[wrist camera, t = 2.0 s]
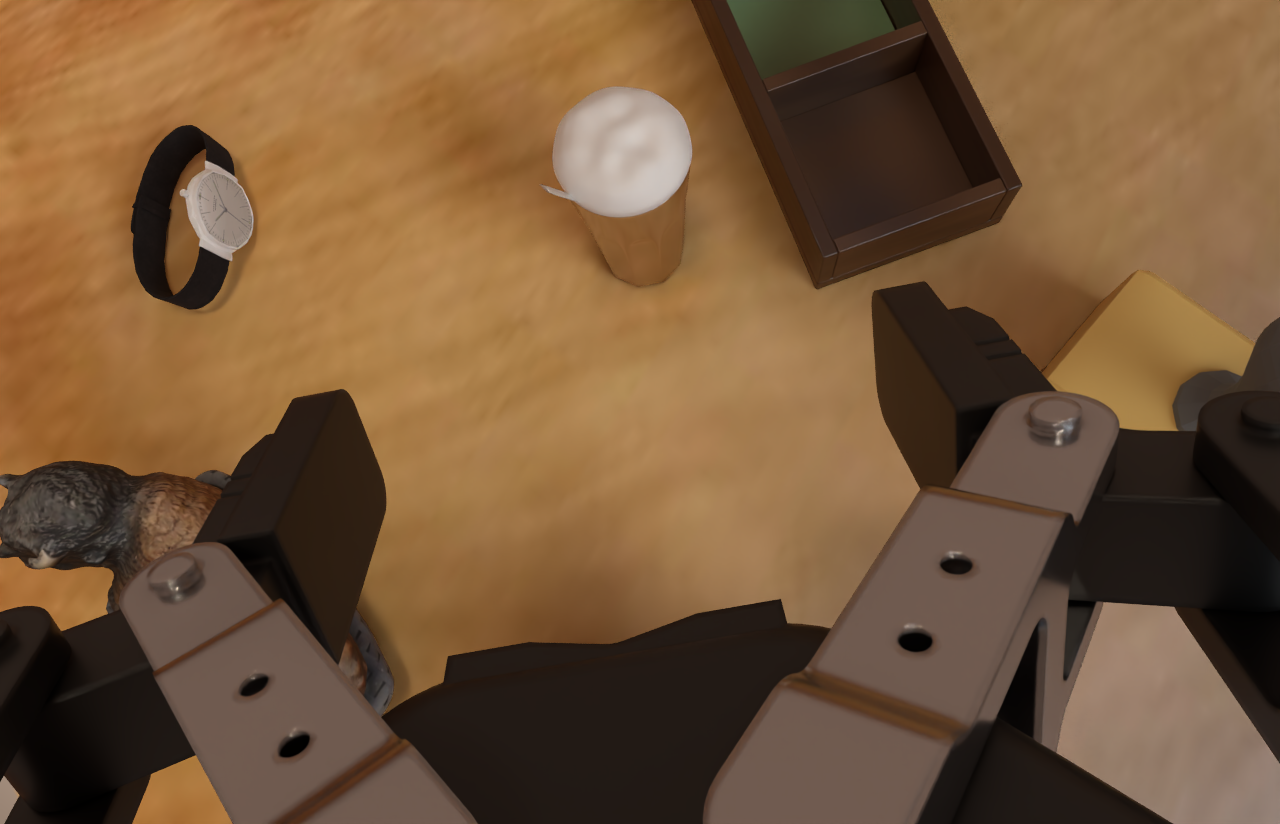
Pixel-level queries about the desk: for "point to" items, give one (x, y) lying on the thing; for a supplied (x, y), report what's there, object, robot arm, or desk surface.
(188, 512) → the brown animal figure
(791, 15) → the tray
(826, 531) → the desk surface
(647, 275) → the milkshake
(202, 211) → the watch
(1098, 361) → the rubber stamp
